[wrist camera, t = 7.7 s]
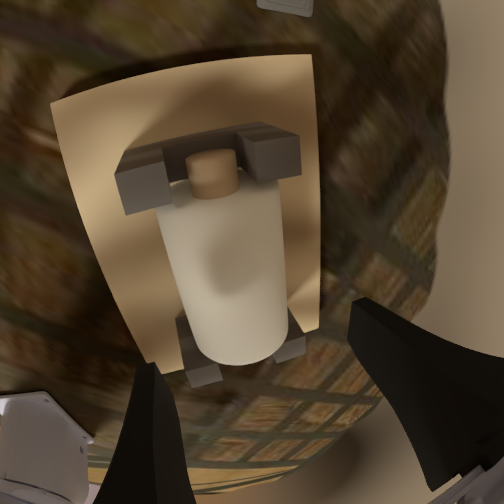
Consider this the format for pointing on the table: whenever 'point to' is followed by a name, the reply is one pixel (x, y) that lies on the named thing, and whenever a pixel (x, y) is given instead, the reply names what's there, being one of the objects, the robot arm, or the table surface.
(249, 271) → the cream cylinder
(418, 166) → the table surface
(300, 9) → the key chain
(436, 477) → the robot arm
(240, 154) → the roll holder
